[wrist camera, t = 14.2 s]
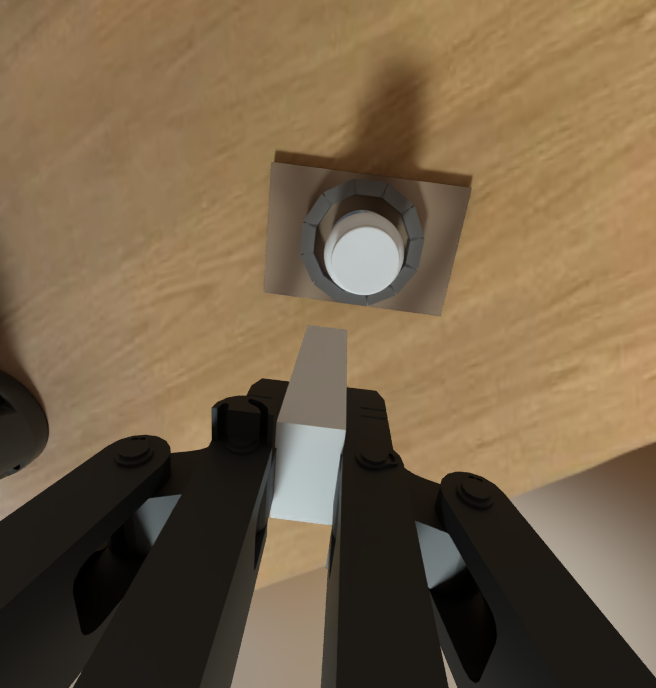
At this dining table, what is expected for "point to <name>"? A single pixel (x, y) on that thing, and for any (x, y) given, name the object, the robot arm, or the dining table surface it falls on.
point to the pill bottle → (363, 252)
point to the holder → (350, 195)
